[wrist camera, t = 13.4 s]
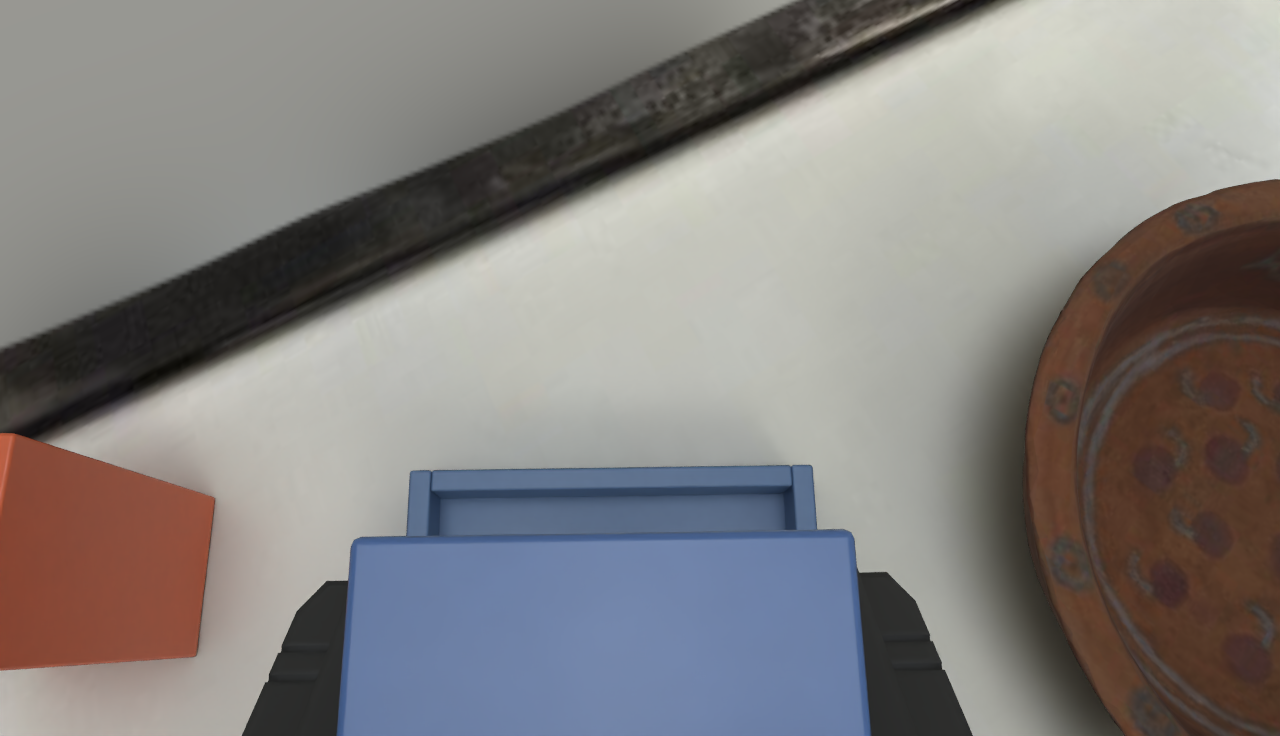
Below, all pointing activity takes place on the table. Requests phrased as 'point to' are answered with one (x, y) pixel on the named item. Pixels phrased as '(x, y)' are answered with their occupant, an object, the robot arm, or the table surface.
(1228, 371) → the dish
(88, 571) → the terracotta block
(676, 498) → the blue tray
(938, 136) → the table surface
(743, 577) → the blue block
